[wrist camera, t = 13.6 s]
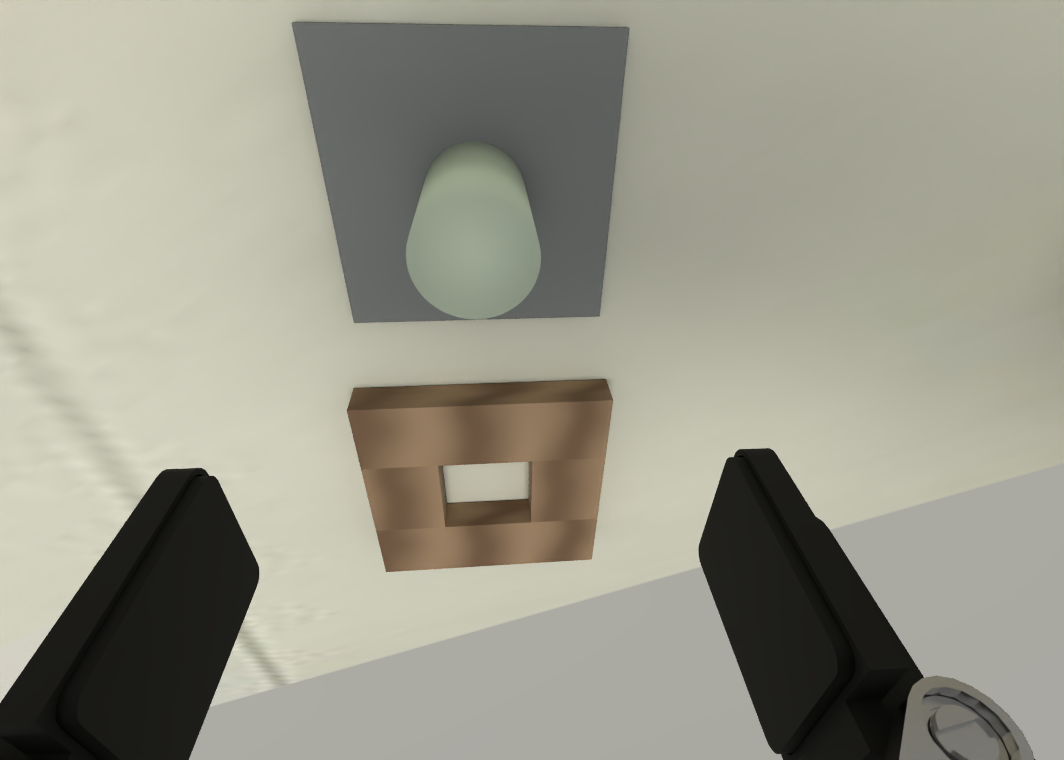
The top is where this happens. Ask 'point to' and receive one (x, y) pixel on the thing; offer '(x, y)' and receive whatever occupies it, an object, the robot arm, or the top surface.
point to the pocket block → (479, 438)
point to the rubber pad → (461, 116)
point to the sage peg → (473, 234)
